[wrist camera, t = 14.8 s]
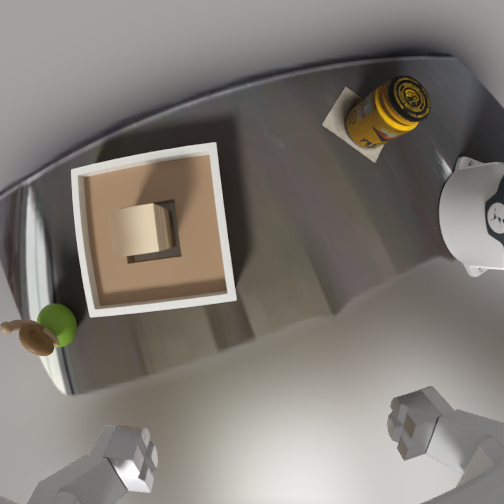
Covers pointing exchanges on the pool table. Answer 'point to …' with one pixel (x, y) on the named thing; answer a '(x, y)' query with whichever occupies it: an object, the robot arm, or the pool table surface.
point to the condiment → (378, 114)
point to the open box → (163, 262)
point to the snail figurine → (45, 329)
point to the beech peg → (141, 230)
